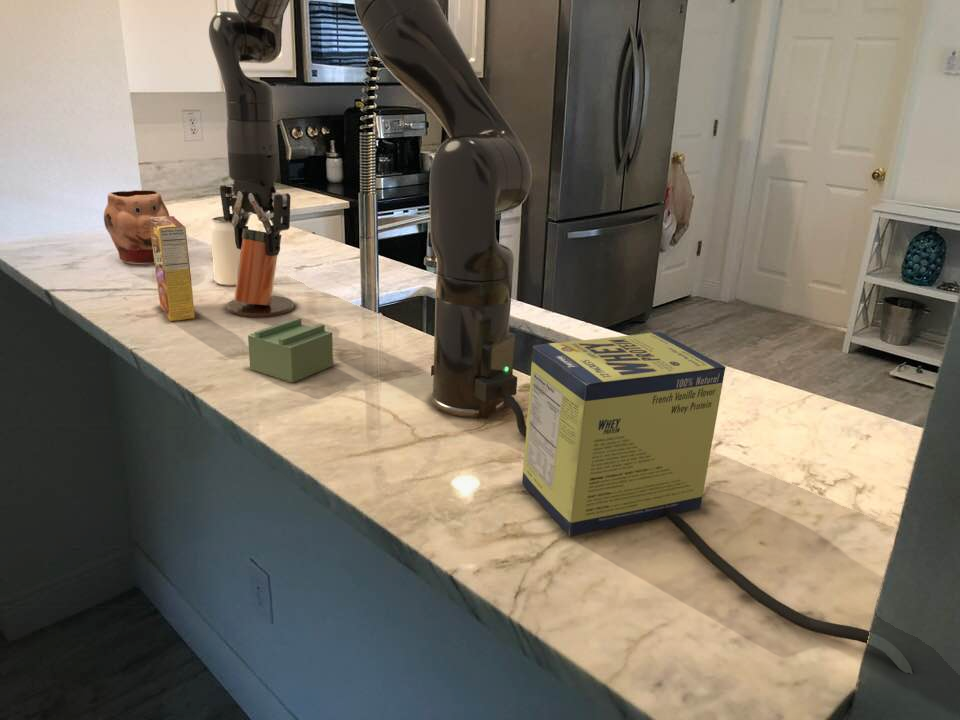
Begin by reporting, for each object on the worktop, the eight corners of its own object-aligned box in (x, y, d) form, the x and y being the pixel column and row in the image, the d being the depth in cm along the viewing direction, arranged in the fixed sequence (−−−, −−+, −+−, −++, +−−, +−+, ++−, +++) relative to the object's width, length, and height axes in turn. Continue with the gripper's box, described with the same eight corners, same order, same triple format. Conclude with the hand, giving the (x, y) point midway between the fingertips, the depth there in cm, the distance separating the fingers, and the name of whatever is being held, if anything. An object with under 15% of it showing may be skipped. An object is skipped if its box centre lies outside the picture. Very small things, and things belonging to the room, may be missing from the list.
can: (239, 287, 142) (235, 223, 137) (207, 284, 143) (202, 220, 138) (256, 279, 148) (252, 217, 143) (225, 276, 149) (220, 214, 144)
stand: (333, 365, 107) (332, 326, 105) (292, 383, 101) (290, 342, 99) (291, 353, 111) (290, 315, 109) (249, 369, 105) (247, 329, 103)
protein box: (703, 509, 76) (729, 364, 71) (568, 539, 70) (585, 383, 65) (643, 461, 85) (661, 330, 80) (518, 484, 79) (529, 343, 74)
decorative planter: (94, 252, 161) (85, 186, 156) (152, 246, 169) (146, 182, 164) (128, 273, 147) (120, 200, 142) (190, 265, 155) (184, 196, 150)
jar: (262, 231, 132) (234, 226, 126) (289, 236, 129) (262, 231, 123) (253, 300, 133) (224, 298, 128) (280, 306, 130) (252, 304, 125)
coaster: (306, 306, 133) (306, 302, 133) (259, 321, 124) (259, 317, 124) (261, 294, 138) (261, 291, 138) (213, 308, 129) (212, 304, 129)
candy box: (157, 306, 129) (147, 216, 123) (184, 304, 131) (175, 215, 125) (167, 322, 121) (158, 227, 116) (195, 318, 124) (187, 225, 118)
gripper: (202, 146, 122) (210, 249, 128) (266, 155, 115) (272, 262, 121) (238, 144, 128) (244, 242, 134) (302, 152, 121) (305, 255, 127)
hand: (257, 251), depth 128 cm, fingers closed on jar, 6 cm apart
